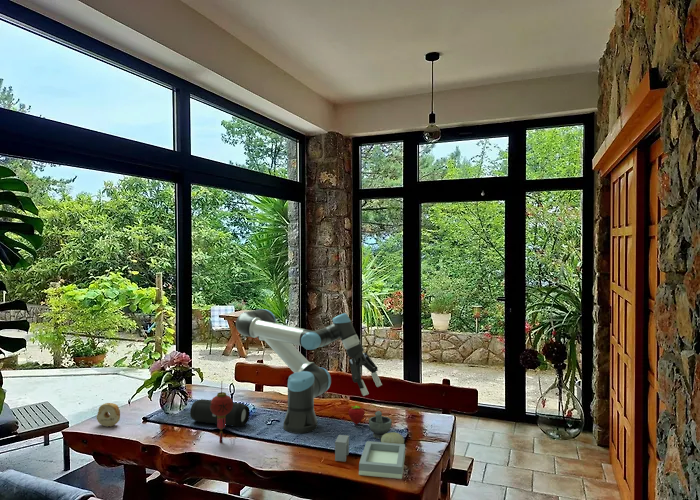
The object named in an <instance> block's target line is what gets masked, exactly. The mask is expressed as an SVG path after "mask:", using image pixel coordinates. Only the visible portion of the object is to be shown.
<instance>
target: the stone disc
mask: <svg viewBox="0 0 700 500" xmlns="http://www.w3.org/2000/svg"><path fill="white" fill-rule="evenodd" d="M120 419H121V409H120V407H119V405H117V404H116V403H114V402H113V403H112V402H105V403H103V404H101V405H99V407H98V412H97V414H96V420H97V422H98V423H99V425H100V426H101V425H102V426H103V427H108V426H110V427H113V426H115V425H116V424H118V423H119V421H121V420H120Z"/></svg>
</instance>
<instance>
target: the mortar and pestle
mask: <svg viewBox="0 0 700 500" xmlns="http://www.w3.org/2000/svg"><path fill="white" fill-rule="evenodd" d="M382 414H383V412H382V411H380V410H377V411H375V416H371V417H370V418H369V419H368V426H369V429H370V431H371V432H372V437H373V438H374V439H377V438H378V439H379V440H381V438H382V436H383V435H384V434H386V433H390V429H391V427H392V424H393V423H392V419H391V418H390V417H389V416H384V415H382Z"/></svg>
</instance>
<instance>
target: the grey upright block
mask: <svg viewBox="0 0 700 500" xmlns="http://www.w3.org/2000/svg"><path fill="white" fill-rule="evenodd" d="M334 446H335V447H334V461H335V462H346V461H347V456H349V453H350V451H349V450H350V436H349V435H344V434H338V436H337V438H336V439H335V442H334Z"/></svg>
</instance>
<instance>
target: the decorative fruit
mask: <svg viewBox="0 0 700 500" xmlns="http://www.w3.org/2000/svg"><path fill="white" fill-rule="evenodd" d="M350 407H351V408H349V409H348V417H349V418H350V419H351V421H352V422H353V423H354V424H355V426H357V425H359V424H360V422H361V421H362V420H363V418H364V416H365V414H366V413H365V410H364V409H363V407H362V406H361V405H356V402H355V405H351V406H350Z"/></svg>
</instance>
